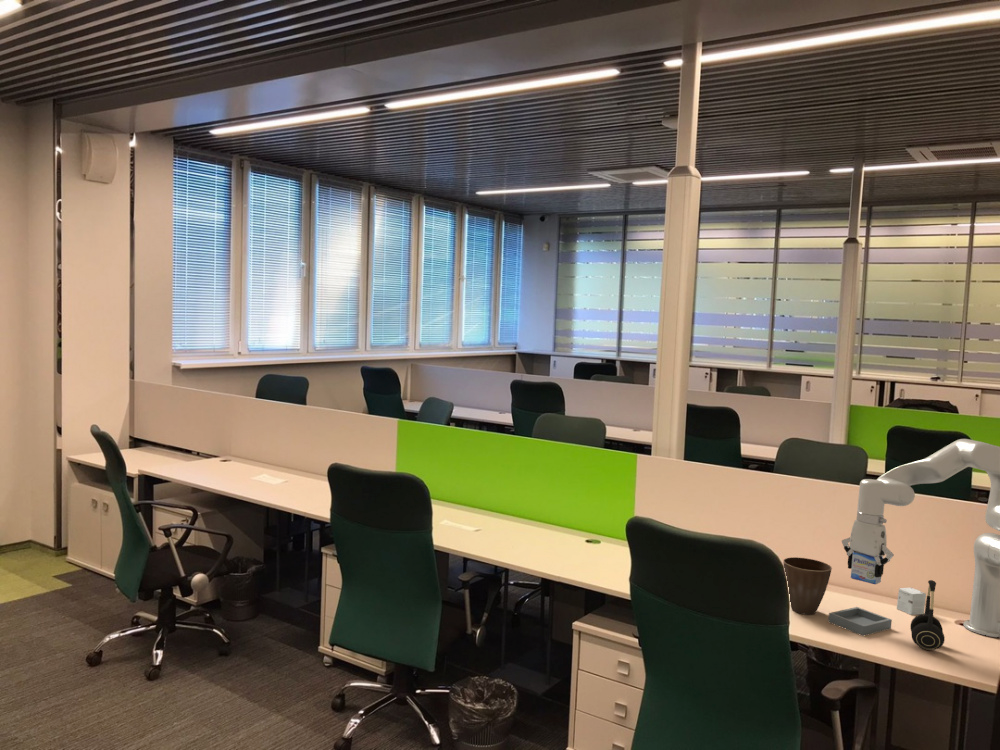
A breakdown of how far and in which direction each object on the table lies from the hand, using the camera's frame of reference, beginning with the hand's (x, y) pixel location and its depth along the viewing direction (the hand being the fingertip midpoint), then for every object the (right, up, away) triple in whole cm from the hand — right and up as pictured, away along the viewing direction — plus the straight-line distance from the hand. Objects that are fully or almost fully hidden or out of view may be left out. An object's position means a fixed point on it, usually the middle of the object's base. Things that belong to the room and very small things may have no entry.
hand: (864, 572), depth 243 cm
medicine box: (+1, -3, +1) cm, 3 cm away
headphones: (+12, -19, -13) cm, 26 cm away
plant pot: (-15, -16, +11) cm, 25 cm away
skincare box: (+24, -18, +18) cm, 36 cm away
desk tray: (-1, -17, +1) cm, 17 cm away
